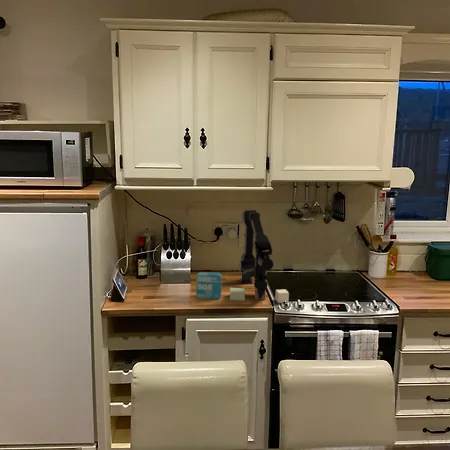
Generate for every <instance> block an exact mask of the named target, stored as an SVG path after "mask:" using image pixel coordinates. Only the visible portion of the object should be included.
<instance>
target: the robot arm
mask: <svg viewBox="0 0 450 450" xmlns="http://www.w3.org/2000/svg"><path fill="white" fill-rule="evenodd" d="M241 219H242V223H243V225H244V247H243V250H244V251H243V254H242V255H241V256H240V260H239V263H238V266H237V267H238V271H239V272H240V273H241V275H240V276H241V277H240V283H241V284H253V287H254V289H255V288H257V290H258V296H259V299H261V298H262V296H263V294H264V292H265V293H266V289H267V288H268V280H267V277H268V276H267V273H268V272H267V271H271V270H272V269H273V267H274V261H273V260H272V259H271V258H270V256H272V255H273V248H272V244H271V241H270V239H269V238H268V236H267V235H266V234H265V232H264V228H263V225H262V221H261V214H260V212H259V211H257V209H244V210H243V211H242V212H241ZM253 278H254V280H253Z"/></svg>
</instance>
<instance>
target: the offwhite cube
mask: <svg viewBox="0 0 450 450" xmlns="http://www.w3.org/2000/svg"><path fill="white" fill-rule="evenodd" d="M274 297H275V298H274V300H275V301H276V302H277V304H284V303H283V302H284V301H286V302H288V303H289V299H290V298H289V297H290V293H289V291H288V290H287V289H283V288H282V289H275V296H274Z"/></svg>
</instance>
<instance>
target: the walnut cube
mask: <svg viewBox="0 0 450 450" xmlns="http://www.w3.org/2000/svg"><path fill="white" fill-rule="evenodd" d="M255 299H257V300H260V301H265V300H266V291H265V292H264V294H263V296H262V298H261V299H259V296H258V290H257V288H255V287H254V300H255Z"/></svg>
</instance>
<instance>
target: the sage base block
mask: <svg viewBox="0 0 450 450" xmlns="http://www.w3.org/2000/svg"><path fill="white" fill-rule="evenodd" d="M229 292H230V293H229V295H230V296H229V301H246V299H245V298H246V290H245V287H230V291H229Z"/></svg>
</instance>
